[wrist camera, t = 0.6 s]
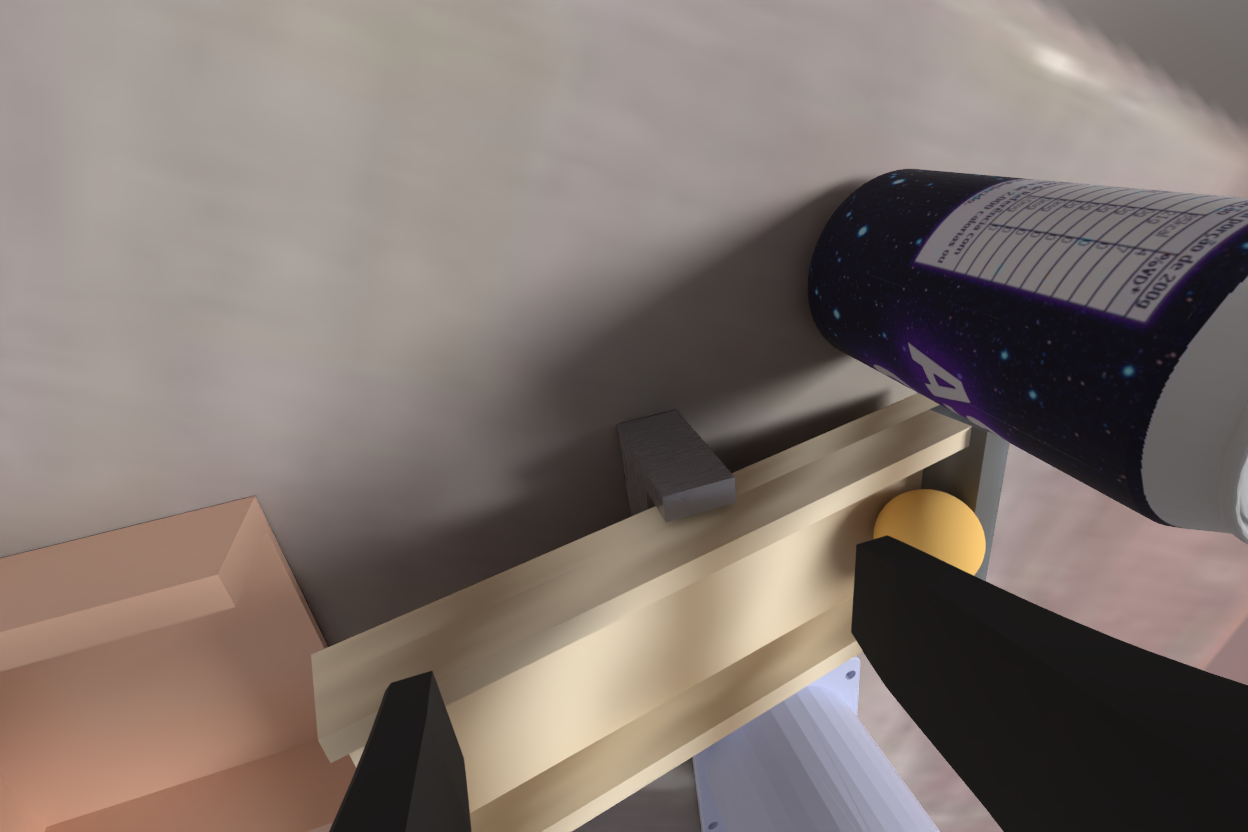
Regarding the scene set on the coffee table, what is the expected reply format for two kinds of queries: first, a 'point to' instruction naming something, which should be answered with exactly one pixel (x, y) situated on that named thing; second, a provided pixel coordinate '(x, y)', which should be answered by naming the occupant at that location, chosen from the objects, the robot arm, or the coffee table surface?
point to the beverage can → (1059, 325)
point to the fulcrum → (672, 468)
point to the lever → (656, 624)
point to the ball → (935, 527)
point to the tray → (162, 683)
